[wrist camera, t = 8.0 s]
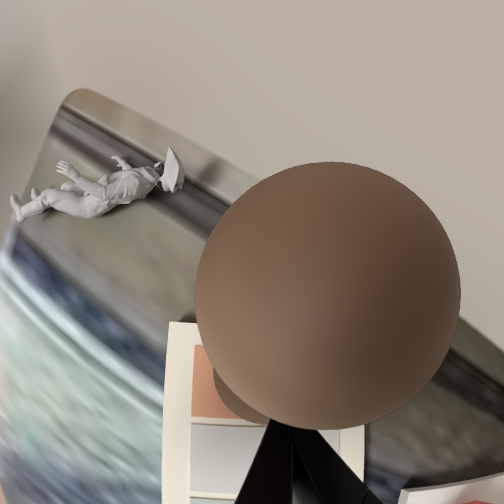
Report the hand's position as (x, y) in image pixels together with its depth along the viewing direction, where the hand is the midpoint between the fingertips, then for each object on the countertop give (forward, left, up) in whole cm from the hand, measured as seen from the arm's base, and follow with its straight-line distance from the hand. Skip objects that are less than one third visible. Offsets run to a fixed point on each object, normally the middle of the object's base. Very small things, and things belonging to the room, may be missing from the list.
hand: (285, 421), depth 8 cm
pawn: (+2, 0, -6) cm, 7 cm away
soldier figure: (+10, +13, -8) cm, 19 cm away
